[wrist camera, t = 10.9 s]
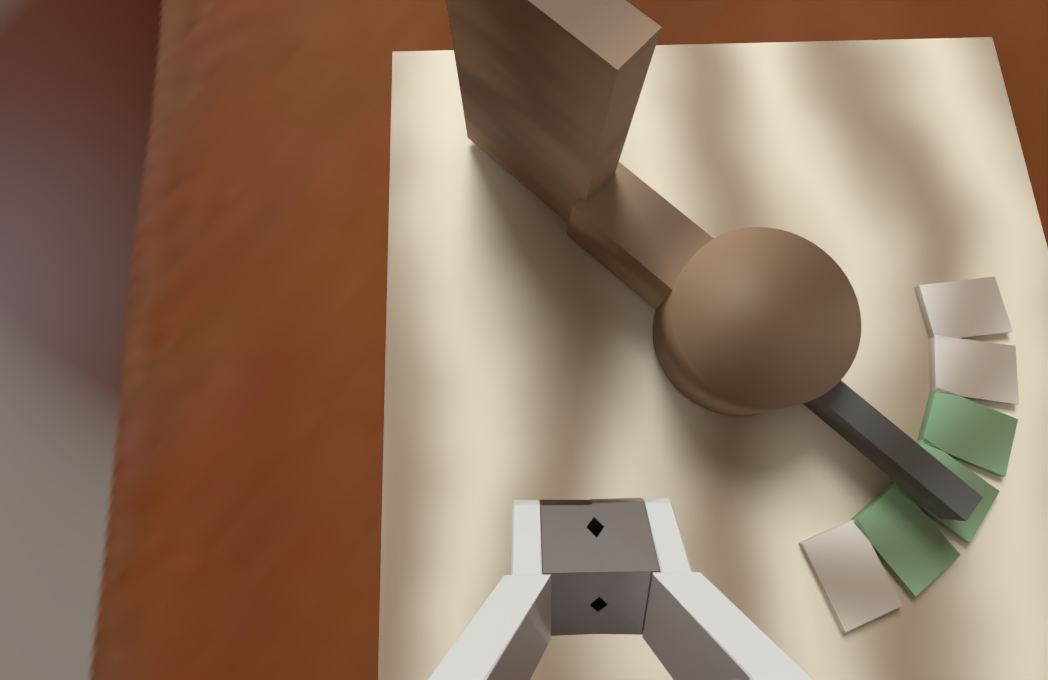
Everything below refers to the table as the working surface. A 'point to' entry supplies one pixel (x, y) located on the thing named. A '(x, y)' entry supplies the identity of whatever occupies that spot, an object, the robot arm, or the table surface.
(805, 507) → the tuner board
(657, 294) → the brown wooden long piece
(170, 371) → the table surface
